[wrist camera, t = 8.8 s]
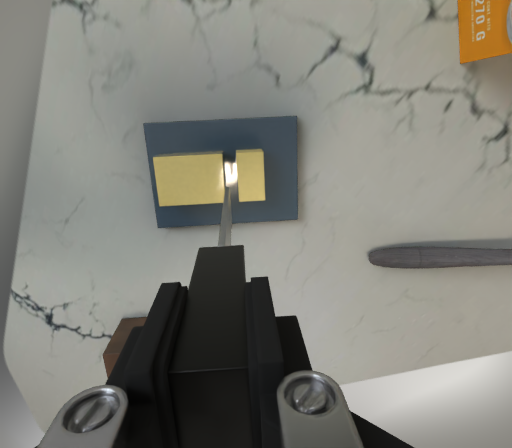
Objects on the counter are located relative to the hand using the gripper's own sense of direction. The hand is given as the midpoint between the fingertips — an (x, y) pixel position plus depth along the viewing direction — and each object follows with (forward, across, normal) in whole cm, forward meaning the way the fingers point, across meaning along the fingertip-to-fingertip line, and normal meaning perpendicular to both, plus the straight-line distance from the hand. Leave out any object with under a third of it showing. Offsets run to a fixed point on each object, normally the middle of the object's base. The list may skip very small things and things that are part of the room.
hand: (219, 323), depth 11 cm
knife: (+15, 0, 0) cm, 15 cm away
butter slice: (+24, -2, -1) cm, 24 cm away
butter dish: (+25, 0, -1) cm, 25 cm away
